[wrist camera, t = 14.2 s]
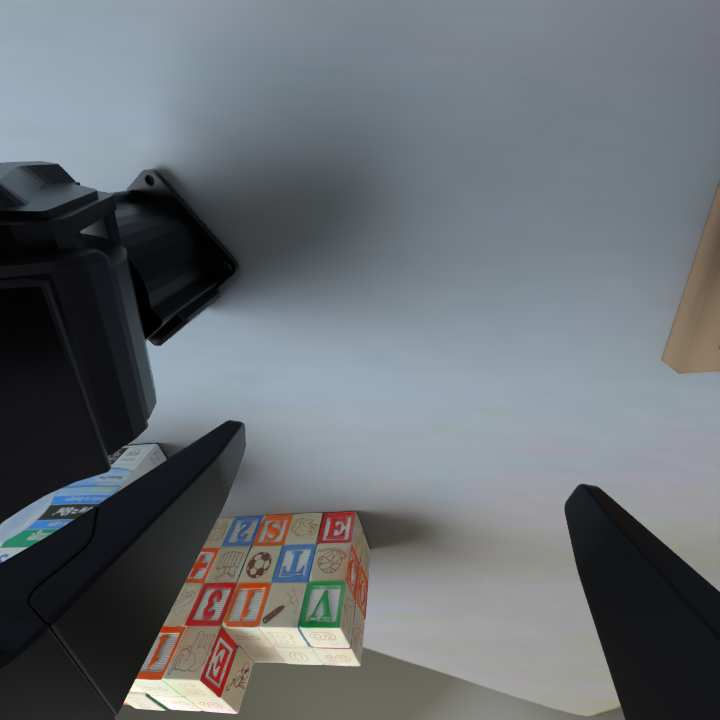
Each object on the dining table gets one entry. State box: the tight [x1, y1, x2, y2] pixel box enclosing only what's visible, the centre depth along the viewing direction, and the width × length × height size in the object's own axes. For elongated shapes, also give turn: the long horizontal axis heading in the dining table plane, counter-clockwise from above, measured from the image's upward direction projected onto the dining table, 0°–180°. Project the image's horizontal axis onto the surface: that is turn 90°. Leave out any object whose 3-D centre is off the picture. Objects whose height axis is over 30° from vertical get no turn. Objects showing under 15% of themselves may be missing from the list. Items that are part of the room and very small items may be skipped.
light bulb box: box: [0, 444, 167, 563], centre depth 27 cm, size 11×7×11 cm, turn 101°
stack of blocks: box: [123, 511, 370, 714], centre depth 30 cm, size 21×6×12 cm, turn 103°
